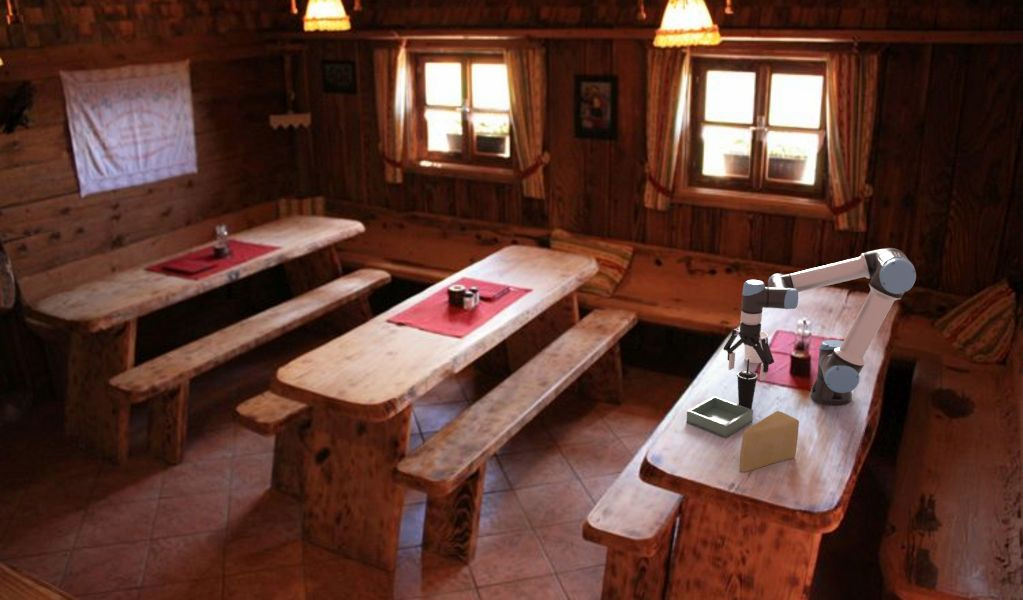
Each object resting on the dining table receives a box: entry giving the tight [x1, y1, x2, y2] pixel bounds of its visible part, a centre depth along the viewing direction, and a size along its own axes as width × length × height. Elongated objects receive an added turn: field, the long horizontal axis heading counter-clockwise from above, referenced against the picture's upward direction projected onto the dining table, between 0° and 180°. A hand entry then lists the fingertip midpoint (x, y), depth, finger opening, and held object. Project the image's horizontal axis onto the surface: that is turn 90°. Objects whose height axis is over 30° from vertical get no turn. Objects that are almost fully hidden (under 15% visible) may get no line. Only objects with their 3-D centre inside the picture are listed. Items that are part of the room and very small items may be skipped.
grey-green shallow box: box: [686, 395, 754, 439], centre depth 326 cm, size 17×17×5 cm
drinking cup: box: [736, 359, 759, 410], centre depth 334 cm, size 8×8×20 cm
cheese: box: [738, 410, 800, 473], centre depth 297 cm, size 22×10×15 cm, turn 123°
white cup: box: [744, 330, 769, 364], centre depth 377 cm, size 10×10×12 cm
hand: (746, 374), depth 333 cm, fingers open, 13 cm apart
